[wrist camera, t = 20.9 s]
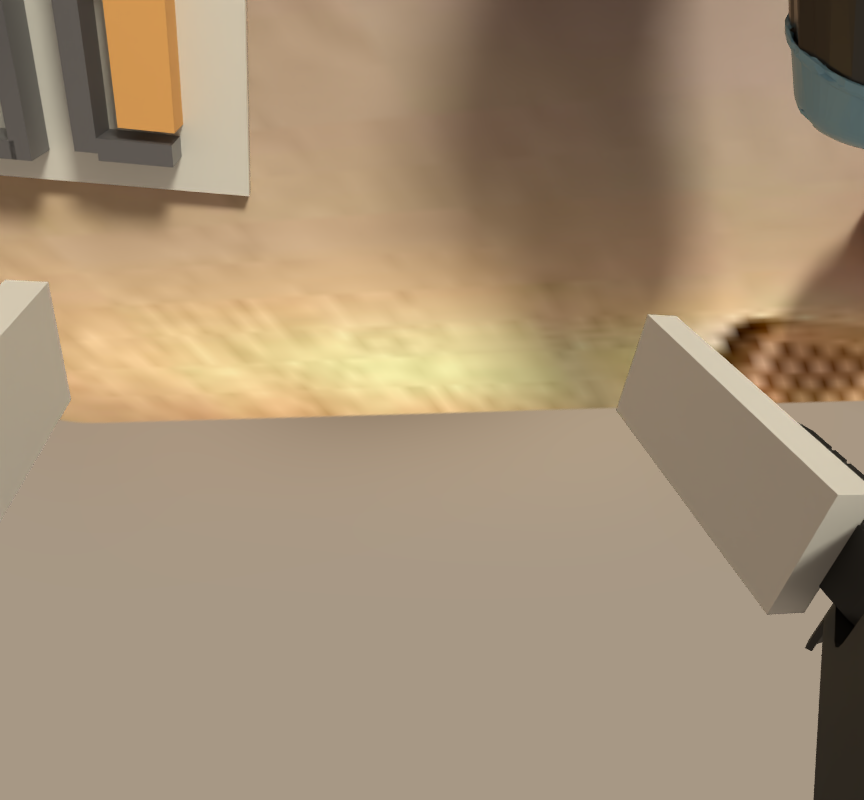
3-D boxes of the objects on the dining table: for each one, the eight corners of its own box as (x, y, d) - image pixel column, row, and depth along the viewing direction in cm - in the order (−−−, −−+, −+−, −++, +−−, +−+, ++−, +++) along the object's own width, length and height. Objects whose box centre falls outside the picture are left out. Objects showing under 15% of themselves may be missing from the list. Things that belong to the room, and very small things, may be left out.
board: (-301, -210, 29) (-380, -236, 26) (244, -112, 34) (237, -123, 31) (-174, 156, 37) (-221, 172, 34) (250, 192, 42) (245, 209, 39)
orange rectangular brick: (112, -43, 34) (97, -46, 31) (172, -34, 35) (161, -36, 32) (130, 118, 38) (117, 127, 36) (183, 124, 39) (174, 133, 36)
